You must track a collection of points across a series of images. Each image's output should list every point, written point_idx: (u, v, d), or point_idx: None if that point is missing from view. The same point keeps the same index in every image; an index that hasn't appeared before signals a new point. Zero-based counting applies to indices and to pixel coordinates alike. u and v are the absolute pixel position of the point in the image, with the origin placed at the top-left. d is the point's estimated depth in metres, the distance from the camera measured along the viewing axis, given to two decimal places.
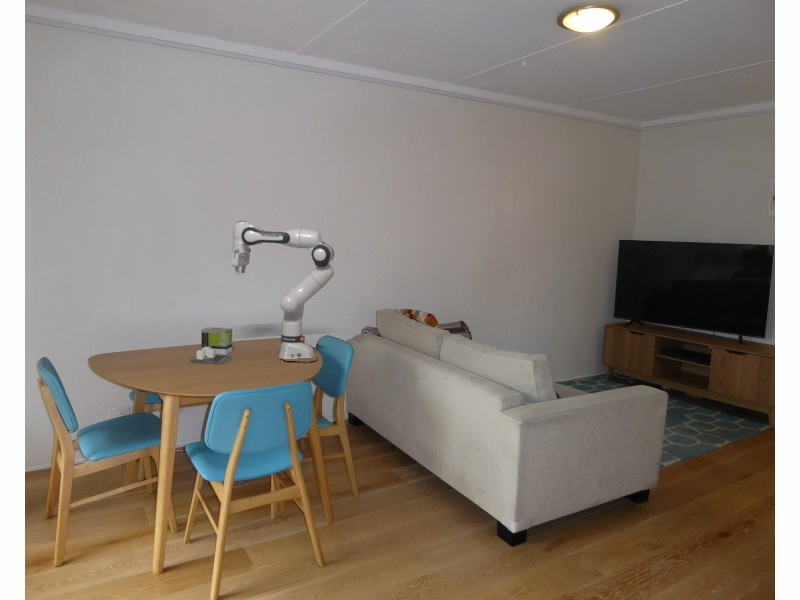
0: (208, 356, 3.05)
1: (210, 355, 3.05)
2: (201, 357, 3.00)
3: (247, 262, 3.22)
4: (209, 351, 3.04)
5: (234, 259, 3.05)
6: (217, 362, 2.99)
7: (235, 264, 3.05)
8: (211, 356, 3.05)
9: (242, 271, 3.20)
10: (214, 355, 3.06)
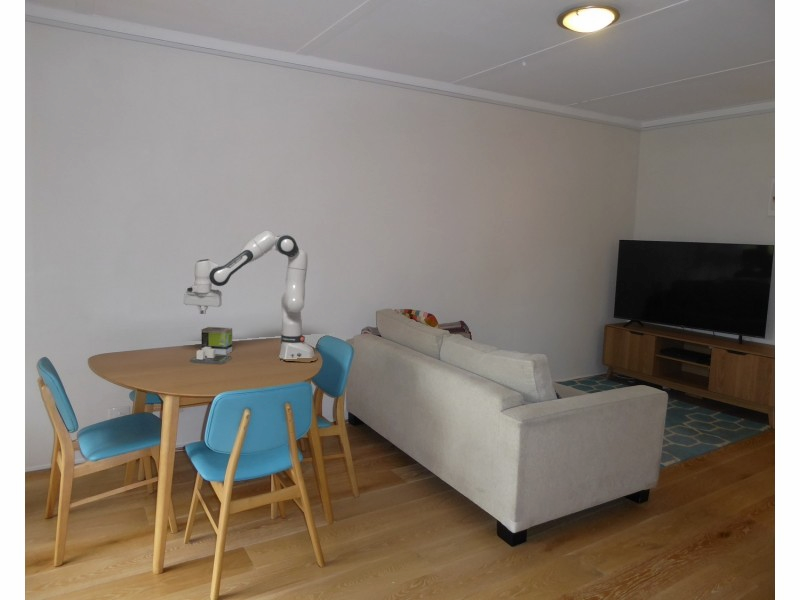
0: (208, 356, 3.05)
1: (210, 355, 3.05)
2: (201, 357, 3.00)
3: None
4: (209, 351, 3.04)
5: (220, 299, 3.02)
6: (217, 362, 2.99)
7: (221, 304, 3.03)
8: (211, 356, 3.05)
9: None
10: (214, 355, 3.06)
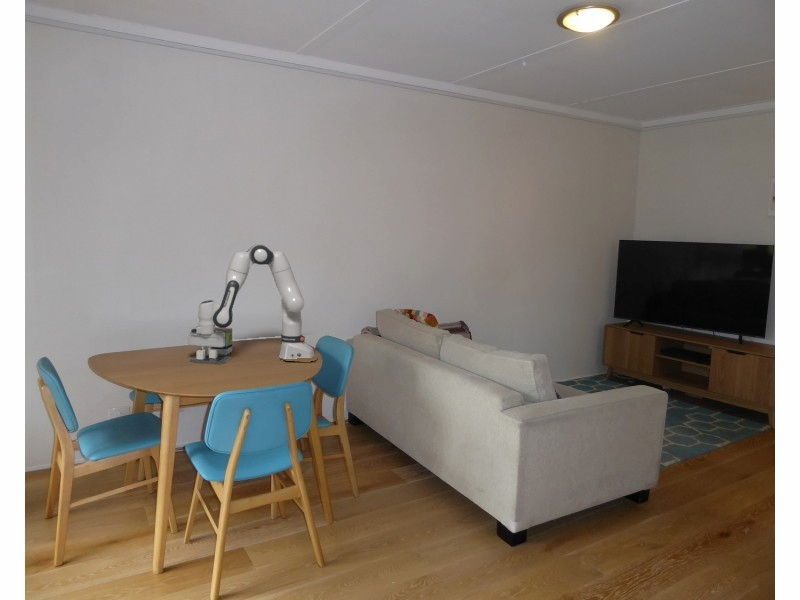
0: (210, 356, 3.05)
1: (212, 355, 3.05)
2: (201, 357, 3.00)
3: None
4: (211, 351, 3.04)
5: (224, 340, 3.05)
6: (217, 362, 2.99)
7: (224, 344, 3.06)
8: (213, 356, 3.05)
9: None
10: (216, 355, 3.06)
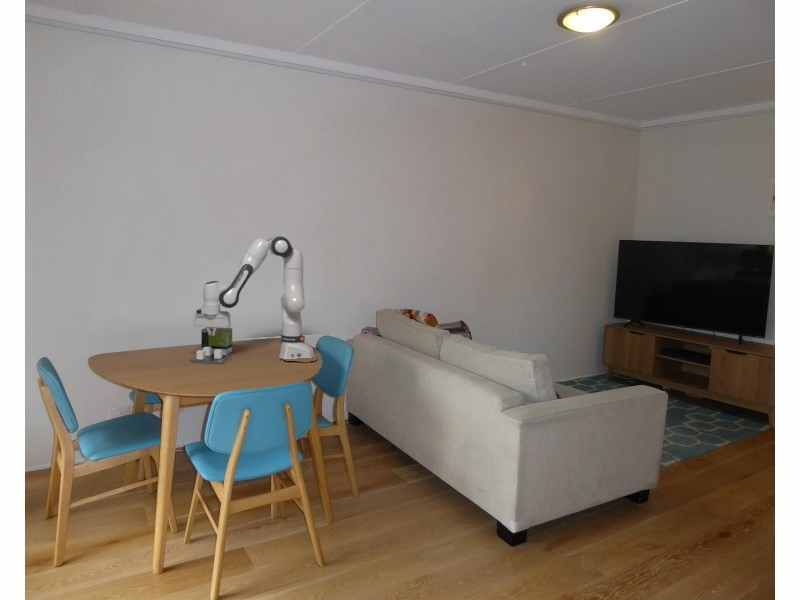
0: (215, 356, 3.05)
1: (217, 355, 3.05)
2: (201, 357, 3.00)
3: None
4: (216, 351, 3.04)
5: (229, 320, 3.03)
6: (217, 362, 2.99)
7: (230, 325, 3.04)
8: (218, 356, 3.05)
9: None
10: (221, 355, 3.06)
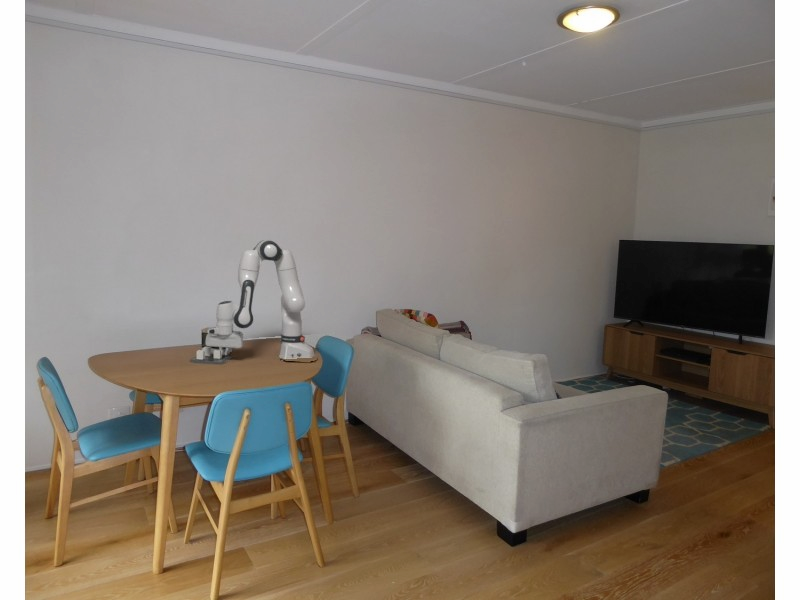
0: (215, 356, 3.05)
1: (216, 355, 3.05)
2: (201, 357, 3.00)
3: None
4: (216, 351, 3.04)
5: (241, 340, 3.04)
6: (217, 362, 2.99)
7: (242, 345, 3.05)
8: (218, 356, 3.05)
9: None
10: (221, 355, 3.06)
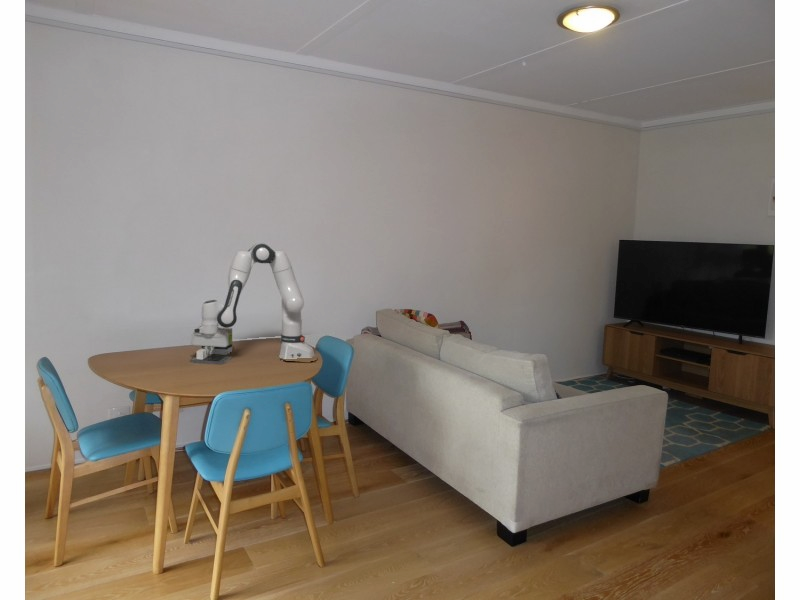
0: None
1: None
2: (201, 357, 3.00)
3: None
4: None
5: (227, 339, 3.04)
6: (217, 362, 2.99)
7: (227, 344, 3.05)
8: None
9: None
10: (207, 355, 3.07)
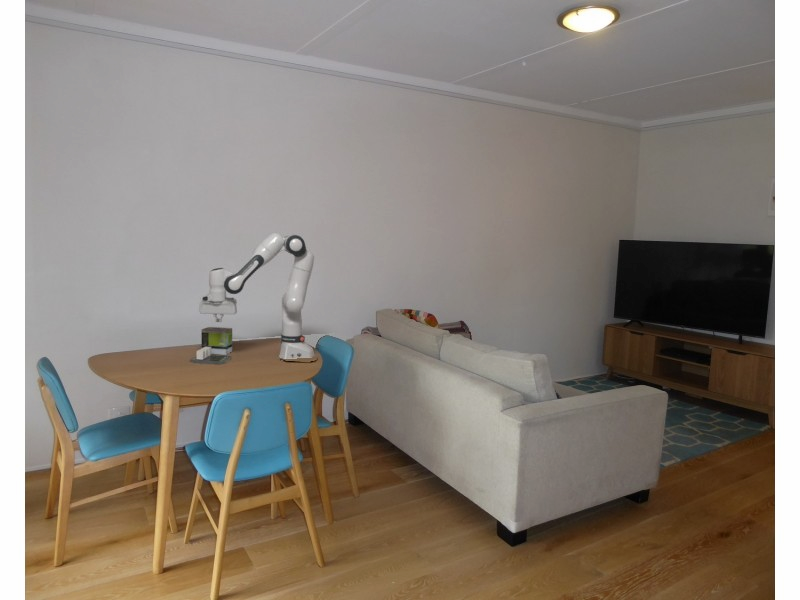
0: None
1: None
2: (201, 357, 3.00)
3: None
4: None
5: (235, 307, 3.05)
6: (217, 362, 2.99)
7: (236, 311, 3.06)
8: None
9: None
10: (207, 355, 3.07)
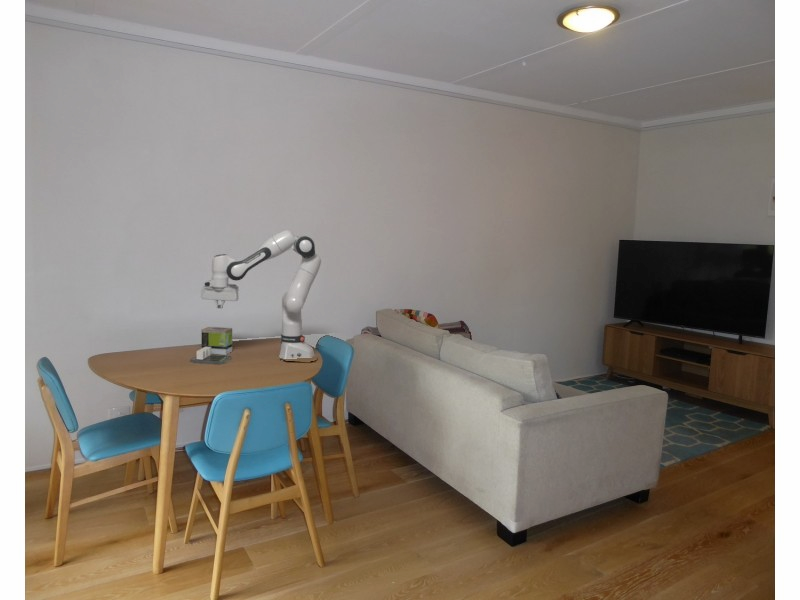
0: None
1: None
2: (201, 357, 3.00)
3: None
4: None
5: (237, 293, 3.05)
6: (217, 362, 2.99)
7: (237, 298, 3.06)
8: None
9: None
10: (207, 355, 3.07)
